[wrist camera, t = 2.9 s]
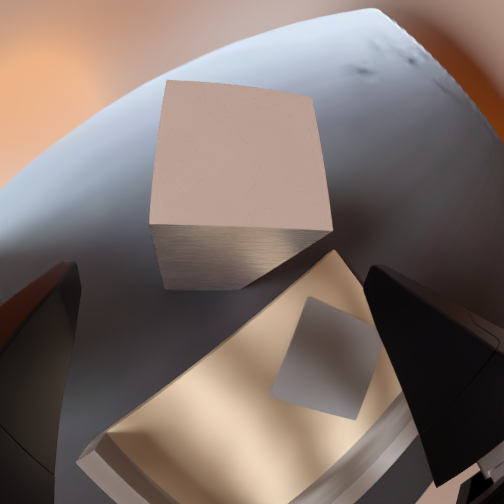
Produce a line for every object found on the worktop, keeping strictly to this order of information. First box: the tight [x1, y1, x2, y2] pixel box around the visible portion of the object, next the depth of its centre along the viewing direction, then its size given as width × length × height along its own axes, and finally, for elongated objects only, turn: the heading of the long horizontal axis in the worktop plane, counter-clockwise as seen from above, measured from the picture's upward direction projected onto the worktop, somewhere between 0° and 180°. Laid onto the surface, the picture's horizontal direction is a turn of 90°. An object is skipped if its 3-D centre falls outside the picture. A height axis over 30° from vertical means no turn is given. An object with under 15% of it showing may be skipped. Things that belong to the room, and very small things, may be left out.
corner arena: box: [76, 249, 418, 504], centre depth 16 cm, size 20×13×4 cm, turn 130°
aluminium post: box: [149, 80, 333, 290], centre depth 13 cm, size 4×4×12 cm
